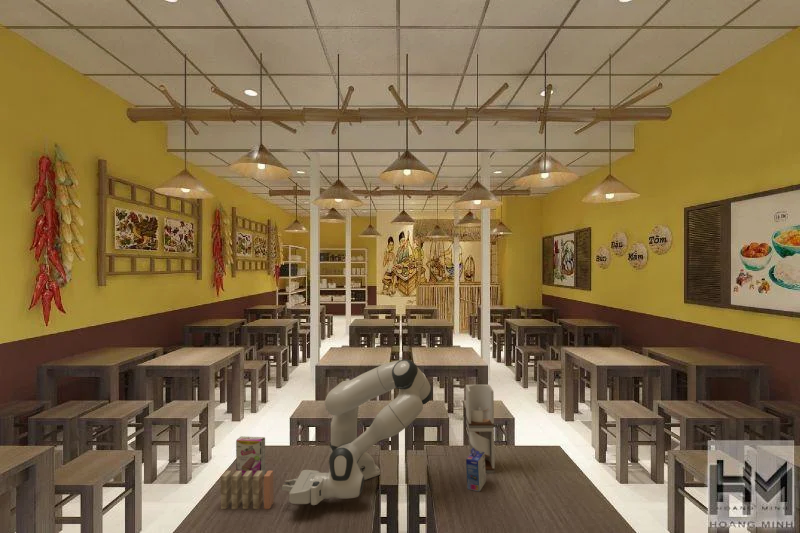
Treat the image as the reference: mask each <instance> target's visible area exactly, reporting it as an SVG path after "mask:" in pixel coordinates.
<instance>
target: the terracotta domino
mask: <svg viewBox="0 0 800 533" xmlns="http://www.w3.org/2000/svg"><path fill="white" fill-rule="evenodd" d="M274 494H275V493H274V470H267V471H266V472H265V475H264V476H263V509H264V510H270V509H271V507H272V506H273V504H274V503H275V502H274V500H275V499H274V498H275V496H274Z"/></svg>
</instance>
